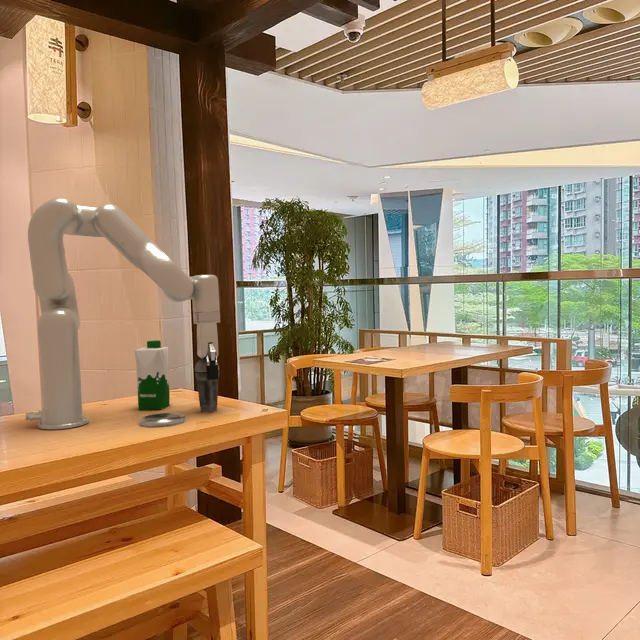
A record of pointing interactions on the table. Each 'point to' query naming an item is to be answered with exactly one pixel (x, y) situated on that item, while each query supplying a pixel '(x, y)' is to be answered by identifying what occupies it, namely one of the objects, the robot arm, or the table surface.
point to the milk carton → (152, 376)
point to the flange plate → (162, 419)
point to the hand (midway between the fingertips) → (210, 377)
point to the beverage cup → (206, 387)
